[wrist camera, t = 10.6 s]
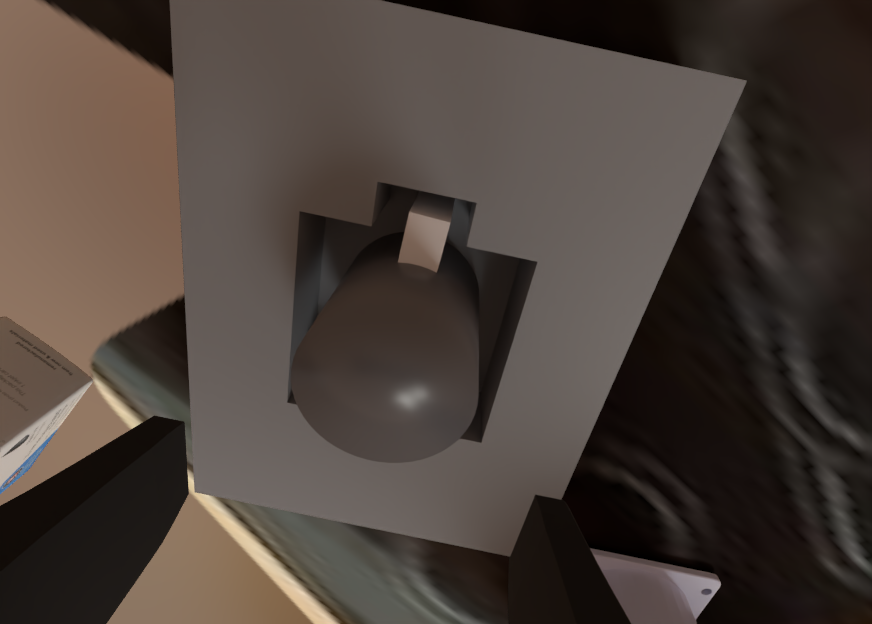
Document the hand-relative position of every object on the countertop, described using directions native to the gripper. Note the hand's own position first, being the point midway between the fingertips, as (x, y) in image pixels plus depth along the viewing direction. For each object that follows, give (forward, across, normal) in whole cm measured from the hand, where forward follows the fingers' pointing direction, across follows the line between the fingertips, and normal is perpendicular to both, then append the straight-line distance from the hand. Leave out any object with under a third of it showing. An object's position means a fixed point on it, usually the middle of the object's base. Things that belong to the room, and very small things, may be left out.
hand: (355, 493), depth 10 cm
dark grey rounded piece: (+9, 0, 0) cm, 9 cm away
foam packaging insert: (+10, 0, 0) cm, 10 cm away
